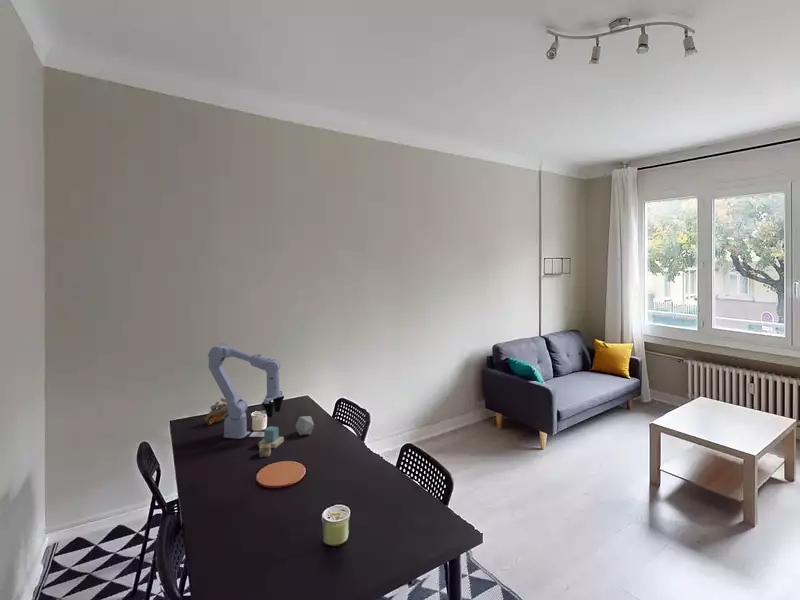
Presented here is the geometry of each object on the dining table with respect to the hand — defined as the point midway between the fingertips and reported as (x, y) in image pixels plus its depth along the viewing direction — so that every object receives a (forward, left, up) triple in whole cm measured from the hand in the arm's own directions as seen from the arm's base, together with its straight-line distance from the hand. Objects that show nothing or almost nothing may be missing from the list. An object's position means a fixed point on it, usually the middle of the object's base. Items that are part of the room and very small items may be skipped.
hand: (273, 414), depth 199 cm
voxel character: (-33, +9, -10) cm, 36 cm away
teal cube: (+4, -10, -8) cm, 13 cm away
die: (+14, +4, -10) cm, 18 cm away
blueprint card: (-7, -1, -10) cm, 12 cm away
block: (+7, -21, -10) cm, 24 cm away
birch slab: (+4, -10, -10) cm, 15 cm away
